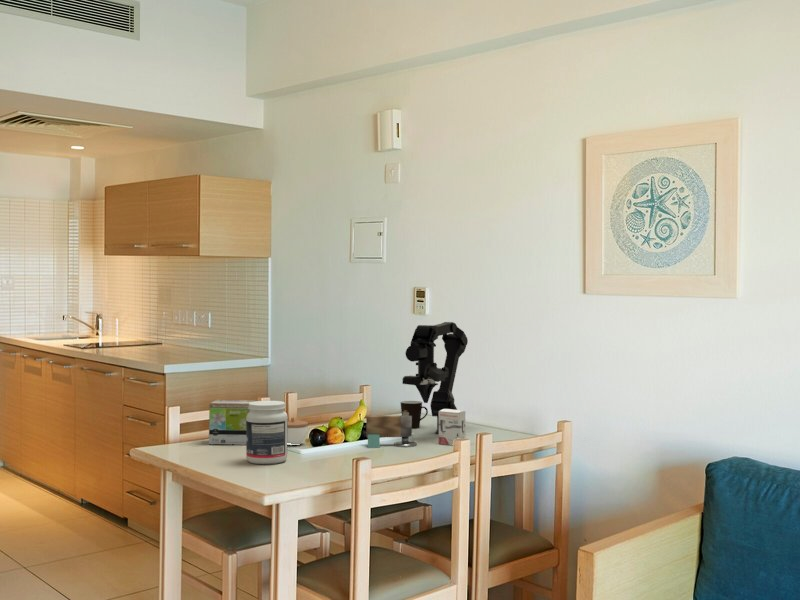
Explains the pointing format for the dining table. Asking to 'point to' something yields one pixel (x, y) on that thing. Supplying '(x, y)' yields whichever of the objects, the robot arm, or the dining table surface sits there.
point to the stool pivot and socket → (375, 443)
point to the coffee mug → (413, 411)
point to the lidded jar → (297, 431)
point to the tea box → (228, 421)
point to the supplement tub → (266, 432)
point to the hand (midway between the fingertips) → (425, 402)
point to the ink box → (451, 425)
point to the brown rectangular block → (389, 425)
